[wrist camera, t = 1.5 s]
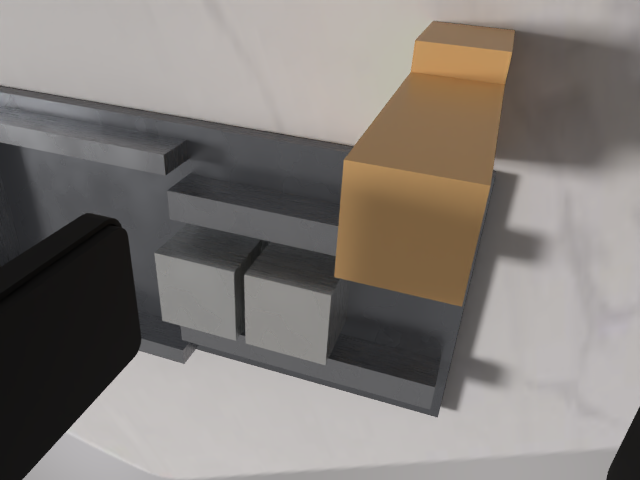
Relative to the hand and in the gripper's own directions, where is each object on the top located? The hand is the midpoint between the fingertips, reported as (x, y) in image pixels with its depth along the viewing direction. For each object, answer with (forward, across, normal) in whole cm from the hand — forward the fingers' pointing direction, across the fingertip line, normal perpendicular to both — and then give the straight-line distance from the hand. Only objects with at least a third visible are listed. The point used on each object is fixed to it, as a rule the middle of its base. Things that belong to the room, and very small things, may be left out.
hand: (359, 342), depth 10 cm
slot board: (+15, +11, +9) cm, 21 cm away
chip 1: (+14, +10, +9) cm, 20 cm away
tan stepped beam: (+15, 0, -1) cm, 15 cm away
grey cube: (+14, +5, +9) cm, 18 cm away
